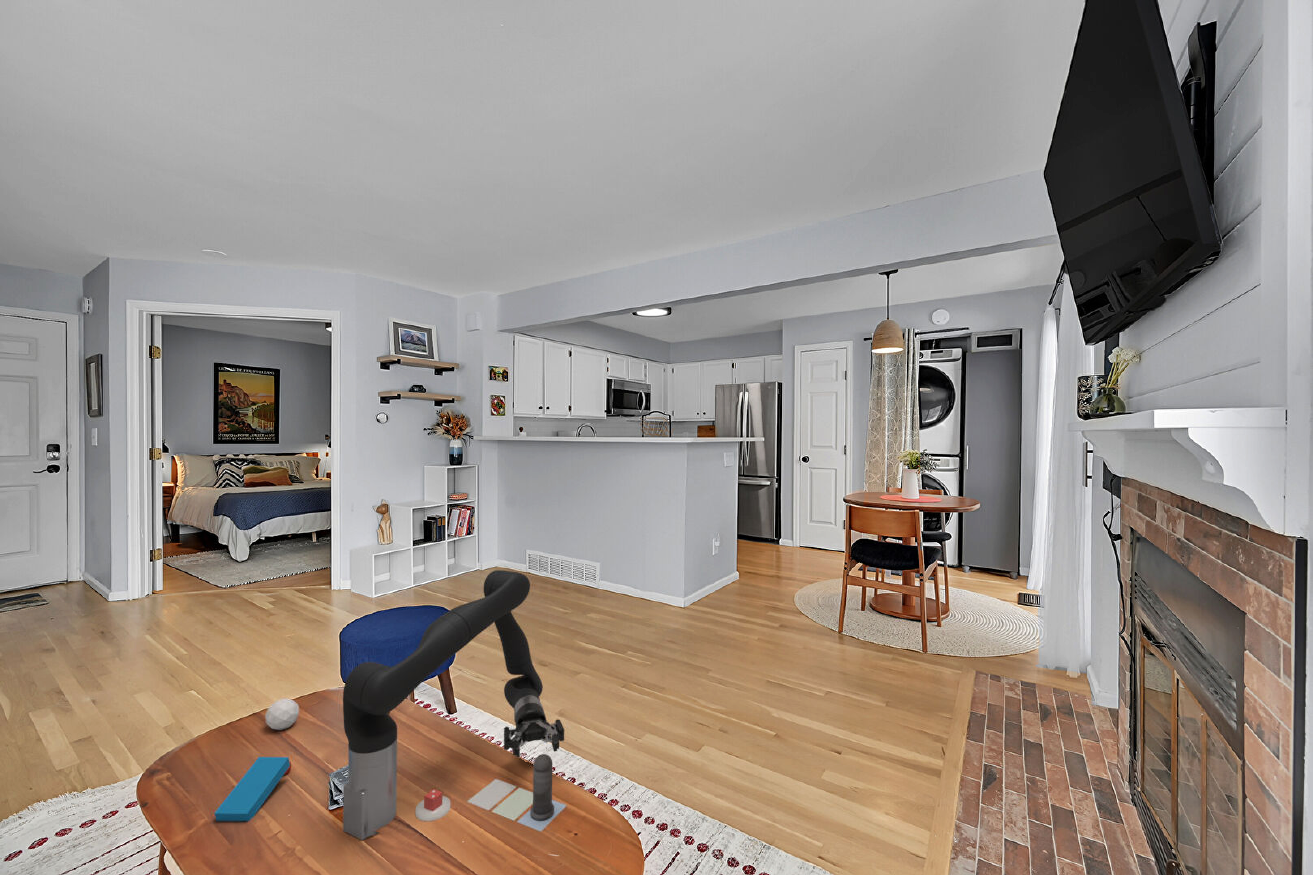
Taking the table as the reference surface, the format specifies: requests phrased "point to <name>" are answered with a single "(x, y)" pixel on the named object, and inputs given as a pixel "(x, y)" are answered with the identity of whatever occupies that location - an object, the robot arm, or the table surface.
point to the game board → (512, 803)
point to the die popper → (433, 806)
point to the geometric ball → (282, 714)
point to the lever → (253, 789)
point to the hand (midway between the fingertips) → (537, 750)
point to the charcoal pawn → (542, 789)
